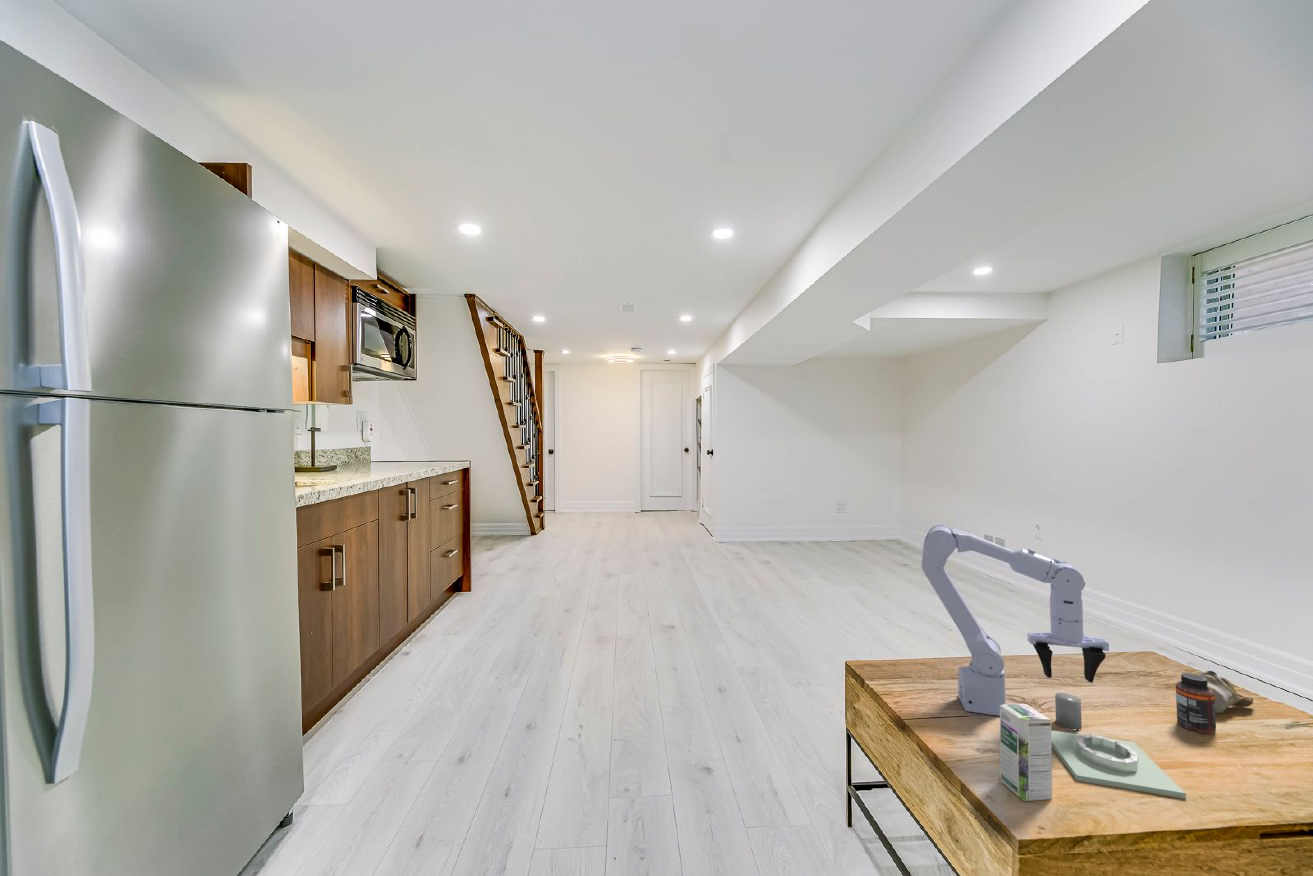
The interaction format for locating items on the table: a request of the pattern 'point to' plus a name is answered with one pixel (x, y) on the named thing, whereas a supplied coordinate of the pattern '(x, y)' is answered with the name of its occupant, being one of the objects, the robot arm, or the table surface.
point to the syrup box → (1025, 752)
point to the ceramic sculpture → (1224, 692)
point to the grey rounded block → (1068, 711)
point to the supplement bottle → (1195, 704)
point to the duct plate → (1142, 780)
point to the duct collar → (1104, 761)
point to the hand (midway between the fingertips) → (1068, 678)
